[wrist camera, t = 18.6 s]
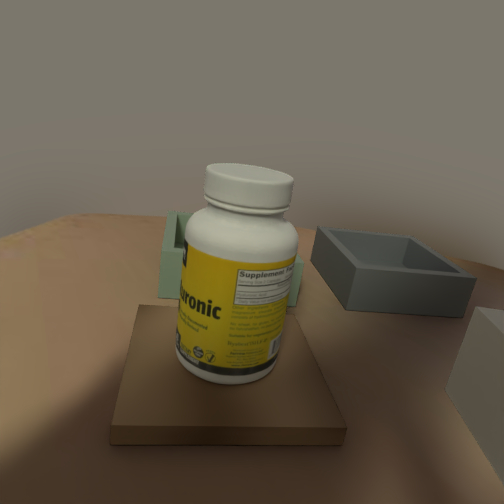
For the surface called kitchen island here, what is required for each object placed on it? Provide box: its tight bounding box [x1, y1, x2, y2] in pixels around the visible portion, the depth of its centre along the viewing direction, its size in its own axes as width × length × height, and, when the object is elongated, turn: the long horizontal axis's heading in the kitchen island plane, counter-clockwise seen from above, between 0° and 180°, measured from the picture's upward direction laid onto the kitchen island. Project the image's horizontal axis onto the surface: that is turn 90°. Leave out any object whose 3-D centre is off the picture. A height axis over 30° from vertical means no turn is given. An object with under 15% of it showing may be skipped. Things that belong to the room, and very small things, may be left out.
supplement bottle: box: [176, 163, 298, 385], centre depth 20 cm, size 5×5×10 cm
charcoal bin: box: [311, 226, 477, 318], centre depth 36 cm, size 10×10×4 cm
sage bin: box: [158, 211, 304, 307], centre depth 34 cm, size 10×10×4 cm
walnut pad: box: [110, 305, 347, 445], centre depth 22 cm, size 10×10×1 cm
